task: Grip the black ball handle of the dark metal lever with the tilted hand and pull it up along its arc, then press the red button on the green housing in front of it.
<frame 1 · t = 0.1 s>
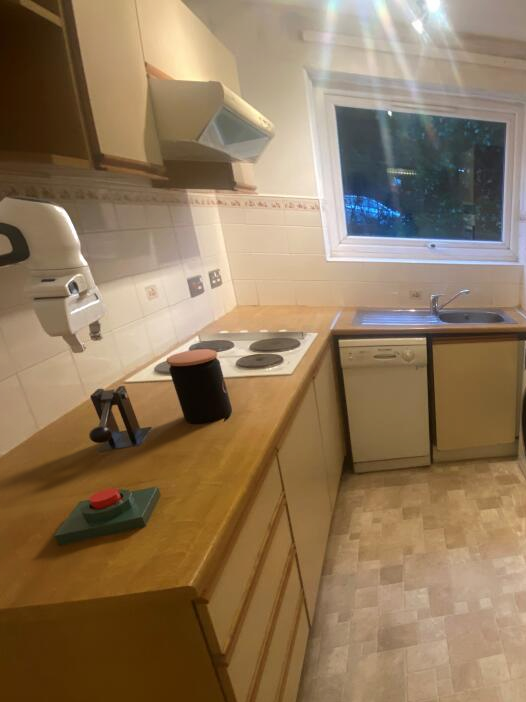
hand: (89, 345, 95), 25 cm above the countertop, tool pointing down, fingers open, 8 cm apart
coffee jar: (210, 419, 117), on the countertop
button box: (114, 518, 80), on the countertop
button: (105, 498, 78), point 4 cm above the countertop, slide at 0.1 cm
bracket: (127, 442, 105), on the countertop
lever: (105, 416, 97), point 10 cm above the countertop, hinge at -25.0°
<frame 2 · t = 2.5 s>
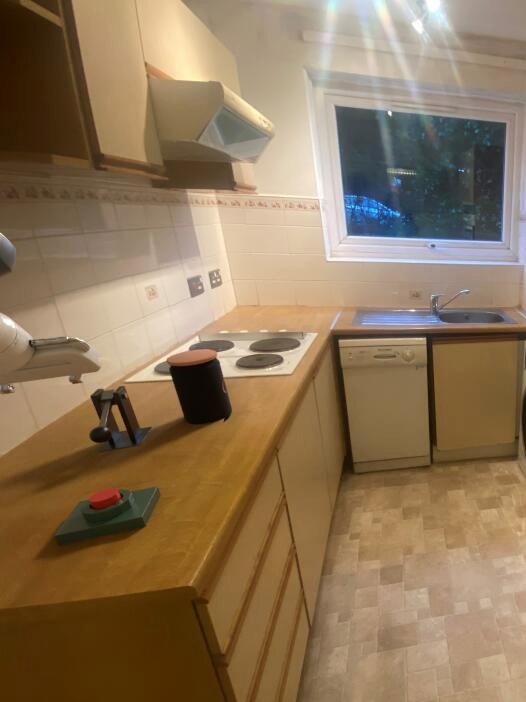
hand: (45, 385, 78), 23 cm above the countertop, tool tilted 45°, fingers open, 8 cm apart
nothing on the countertop moved.
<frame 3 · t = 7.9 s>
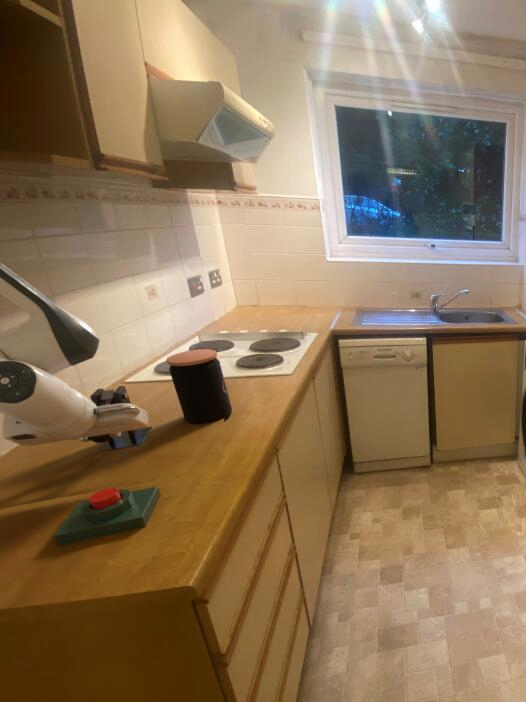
hand: (102, 436, 95), 7 cm above the countertop, tool tilted 45°, fingers closed on lever, 3 cm apart
lever: (105, 416, 97), point 10 cm above the countertop, hinge at -25.0°, touching gripper
everything else where it was.
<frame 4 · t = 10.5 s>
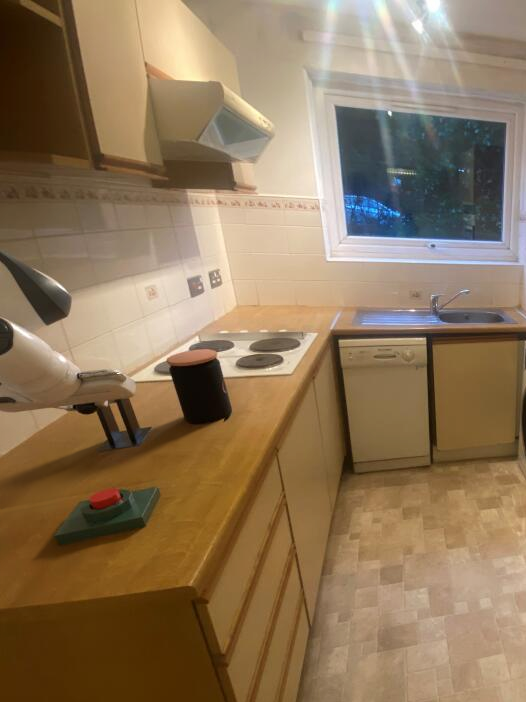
hand: (88, 405, 91), 14 cm above the countertop, tool tilted 45°, fingers closed on lever, 3 cm apart
lever: (98, 401, 95), point 13 cm above the countertop, hinge at 13.6°, touching gripper
everything else where it was.
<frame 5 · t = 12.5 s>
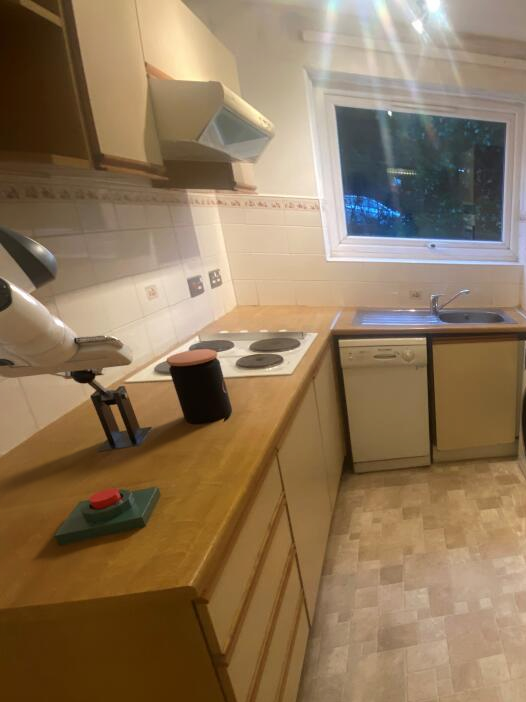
hand: (86, 374, 92), 20 cm above the countertop, tool tilted 45°, fingers closed on lever, 3 cm apart
lever: (97, 386, 96), point 16 cm above the countertop, hinge at 48.8°, touching gripper
everything else where it was.
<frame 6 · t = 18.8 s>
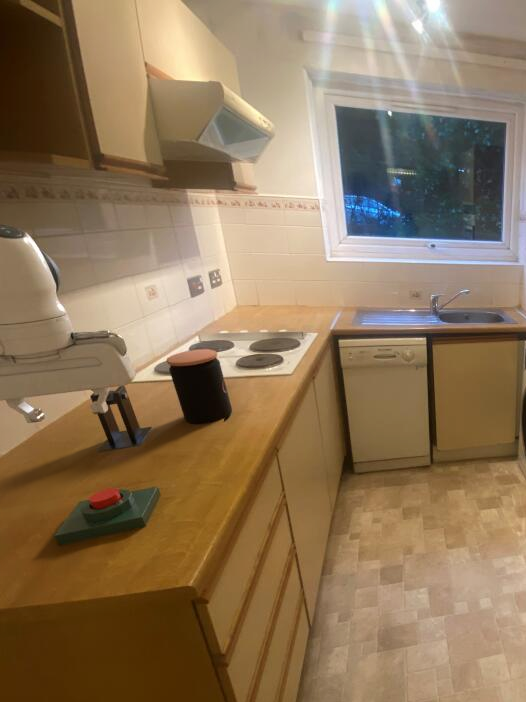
hand: (69, 416, 72), 21 cm above the countertop, tool pointing down, fingers open, 7 cm apart
lever: (97, 389, 95), point 16 cm above the countertop, hinge at 41.4°
everything else where it was.
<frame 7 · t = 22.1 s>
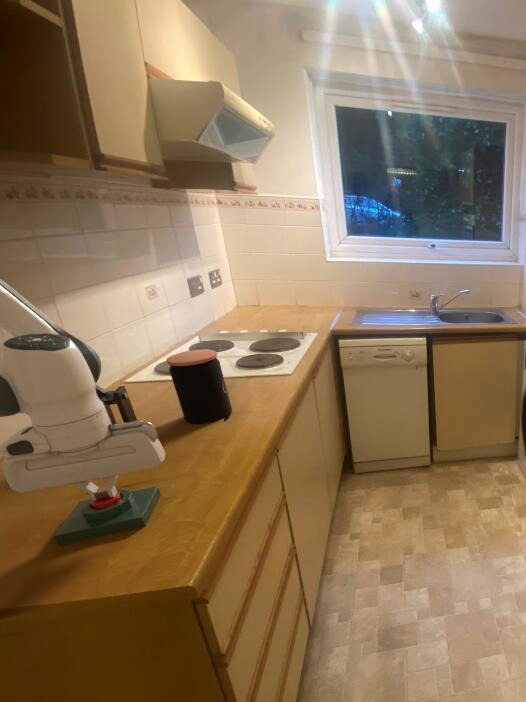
hand: (105, 497, 78), 5 cm above the countertop, tool pointing down, fingers closed, pressing on button
button: (106, 501, 78), point 4 cm above the countertop, slide at -0.5 cm, touching gripper
everything else where it was.
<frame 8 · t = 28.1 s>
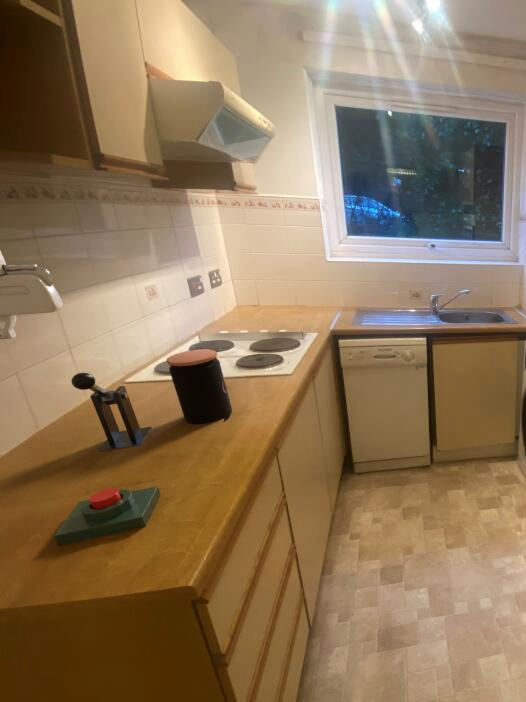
hand: (4, 338, 85), 29 cm above the countertop, tool pointing down, fingers closed
button: (105, 498, 78), point 4 cm above the countertop, slide at 0.1 cm
everything else where it was.
at the end: lever at +41° (first picture: -25°); button pushed in 1.1 cm at the most during the clip, back to where it started at the end; button slide at 0.1 cm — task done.
